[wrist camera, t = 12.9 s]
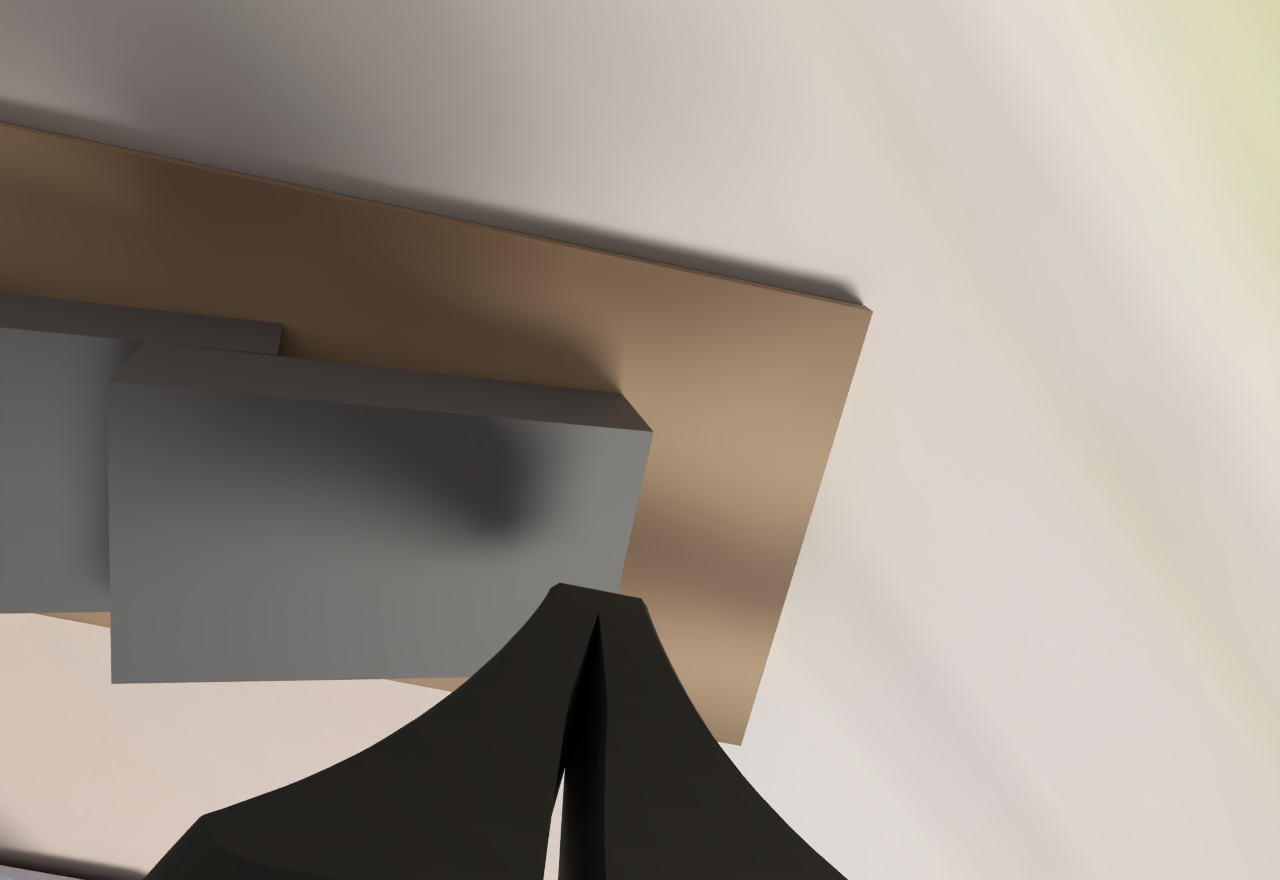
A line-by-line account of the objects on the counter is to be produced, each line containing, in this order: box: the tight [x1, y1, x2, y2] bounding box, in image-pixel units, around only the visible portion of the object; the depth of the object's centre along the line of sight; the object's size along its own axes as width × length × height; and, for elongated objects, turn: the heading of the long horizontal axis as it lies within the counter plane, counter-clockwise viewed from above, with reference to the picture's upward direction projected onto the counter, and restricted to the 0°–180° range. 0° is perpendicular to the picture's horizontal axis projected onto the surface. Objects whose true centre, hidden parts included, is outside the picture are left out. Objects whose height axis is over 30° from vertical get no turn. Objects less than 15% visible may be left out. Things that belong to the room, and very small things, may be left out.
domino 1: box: [0, 293, 283, 613], centre depth 14 cm, size 2×5×8 cm
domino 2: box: [107, 342, 654, 684], centre depth 14 cm, size 2×5×8 cm
